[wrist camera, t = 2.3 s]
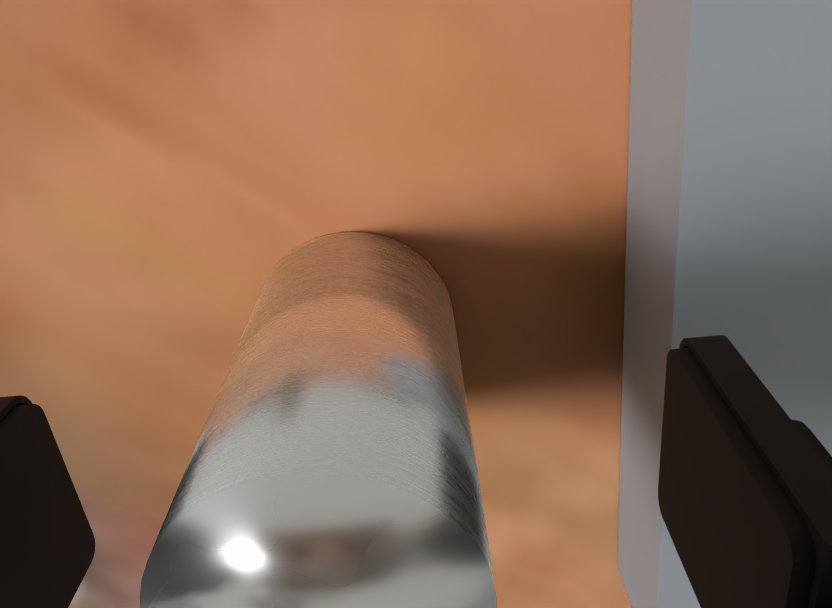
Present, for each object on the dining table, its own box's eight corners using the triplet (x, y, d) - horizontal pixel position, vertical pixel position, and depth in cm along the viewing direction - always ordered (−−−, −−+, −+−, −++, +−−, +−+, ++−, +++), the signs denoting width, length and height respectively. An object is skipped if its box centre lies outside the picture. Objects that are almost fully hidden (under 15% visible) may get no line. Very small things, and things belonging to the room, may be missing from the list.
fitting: (460, 398, 17) (504, 717, 10) (276, 415, 17) (186, 744, 10) (445, 221, 15) (487, 455, 8) (238, 242, 15) (94, 492, 8)
